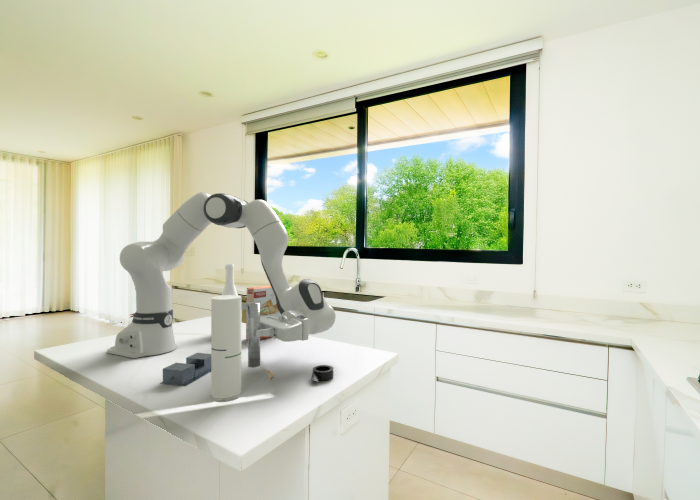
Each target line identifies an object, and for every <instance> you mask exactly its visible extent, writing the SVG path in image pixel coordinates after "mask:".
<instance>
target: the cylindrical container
mask: <svg viewBox="0 0 700 500" xmlns="http://www.w3.org/2000/svg"><path fill="white" fill-rule="evenodd" d="M210 298H211V301H210V303H211V305H210V307H211V308H210V309H211V311H210V313H211V315H210V318H211V322H210V325H211V328H210V329H211V330H210V331H211V332H210V333H211V335H210V337H211V338H210V339H211V343H210V346H211V349H210V351H211V352H210V354H211V372H210V373H211V375H210V377H211V379H210V380H211V381H210V382H211V384H210V385H211V387H210V388H211V392H210V394H211V396H212V397H213V398H215V399H219V400H215V401H214V402H217V403H228V402H233V401H235V400H237V399H239V397H235V396H238V395H240V393H241V392H242V331H241V303H242V295H239V294H238V295H222V294H221V295H214V296H211V297H210Z"/></svg>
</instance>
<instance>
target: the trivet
mask: <svg viewBox="0 0 700 500" xmlns="http://www.w3.org/2000/svg"><path fill="white" fill-rule="evenodd" d="M265 371H266V372H267V375H268V377H269V379H270V380H272V379H273V378H274V372H273V371H272V370H271V369H267V368H266V369H265Z"/></svg>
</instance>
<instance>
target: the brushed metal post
mask: <svg viewBox="0 0 700 500" xmlns="http://www.w3.org/2000/svg"><path fill="white" fill-rule="evenodd" d="M241 310H242V311H244V310H245V311H246V310H248V339H247V367H248V368H257V367H260V366H261V339H260V337H256V336H254V331H255V330H258V329H260V303H259V302H250V303H247V302H244V303H243V302H241Z"/></svg>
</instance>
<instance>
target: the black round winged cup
mask: <svg viewBox="0 0 700 500" xmlns="http://www.w3.org/2000/svg"><path fill="white" fill-rule="evenodd" d="M334 369H335V368H334V367H333V366H331V365H328V364H322V365H321V364H320V365H316V366H314V367H313V370H312V374H311V380H312V381H313V382H317V383H319V382H321V383H323V382H330V381H332V380H333V379H334Z"/></svg>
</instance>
